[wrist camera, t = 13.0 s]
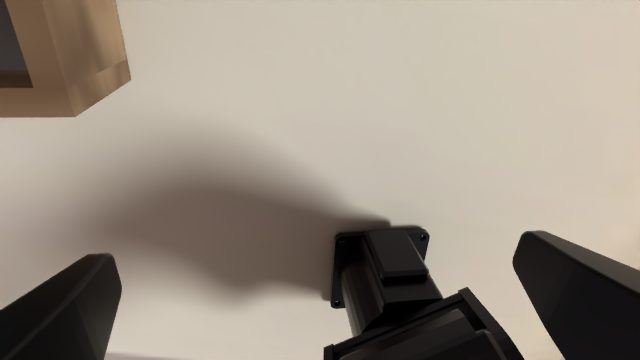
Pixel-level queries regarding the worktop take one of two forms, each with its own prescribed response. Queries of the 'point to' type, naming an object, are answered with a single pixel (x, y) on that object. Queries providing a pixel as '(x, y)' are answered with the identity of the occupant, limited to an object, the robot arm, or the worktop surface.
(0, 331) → the robot arm
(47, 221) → the worktop surface
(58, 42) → the bore box
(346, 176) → the worktop surface
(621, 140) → the worktop surface
